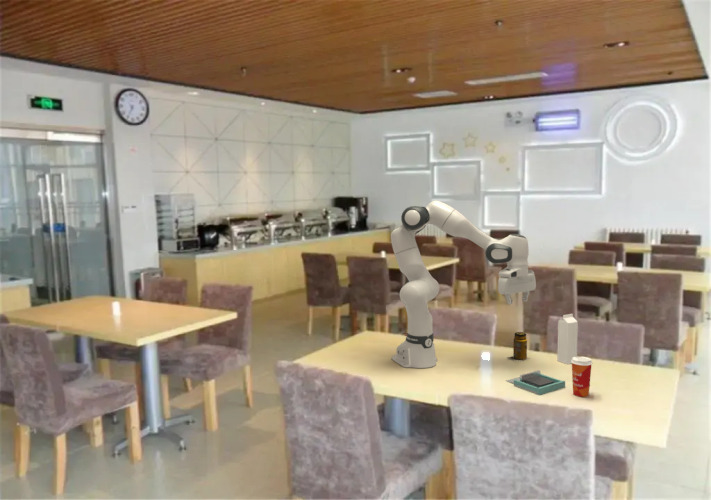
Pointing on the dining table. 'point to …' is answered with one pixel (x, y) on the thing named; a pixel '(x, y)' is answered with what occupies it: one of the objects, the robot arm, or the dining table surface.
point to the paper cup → (581, 375)
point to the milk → (567, 339)
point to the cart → (535, 379)
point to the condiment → (519, 347)
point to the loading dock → (538, 390)
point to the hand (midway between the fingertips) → (517, 302)
